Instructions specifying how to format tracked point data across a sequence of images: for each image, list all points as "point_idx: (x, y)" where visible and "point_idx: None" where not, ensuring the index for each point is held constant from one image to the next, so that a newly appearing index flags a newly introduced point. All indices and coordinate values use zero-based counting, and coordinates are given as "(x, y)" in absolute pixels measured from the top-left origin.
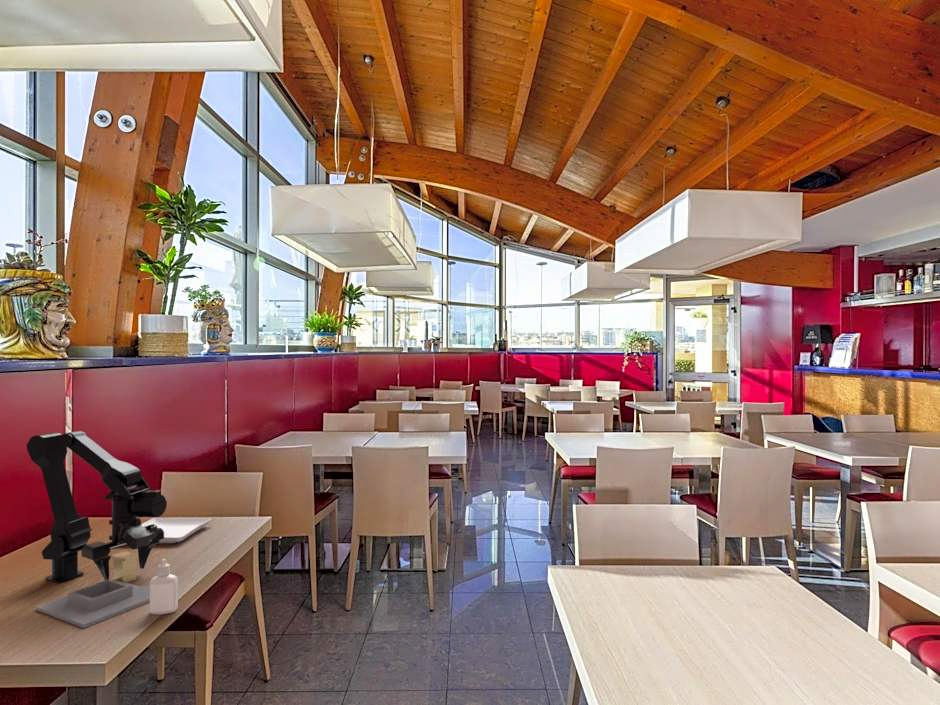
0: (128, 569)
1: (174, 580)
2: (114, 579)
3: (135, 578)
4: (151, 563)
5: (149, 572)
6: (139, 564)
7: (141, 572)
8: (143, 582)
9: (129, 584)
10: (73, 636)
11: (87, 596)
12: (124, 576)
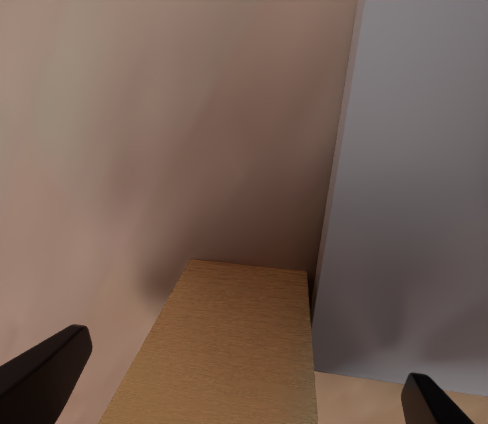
0: (237, 361)
1: None
2: None
3: (192, 264)
4: None
5: (64, 279)
6: (73, 386)
7: (100, 327)
8: (199, 128)
9: (364, 137)
10: None
11: None
12: (289, 315)
